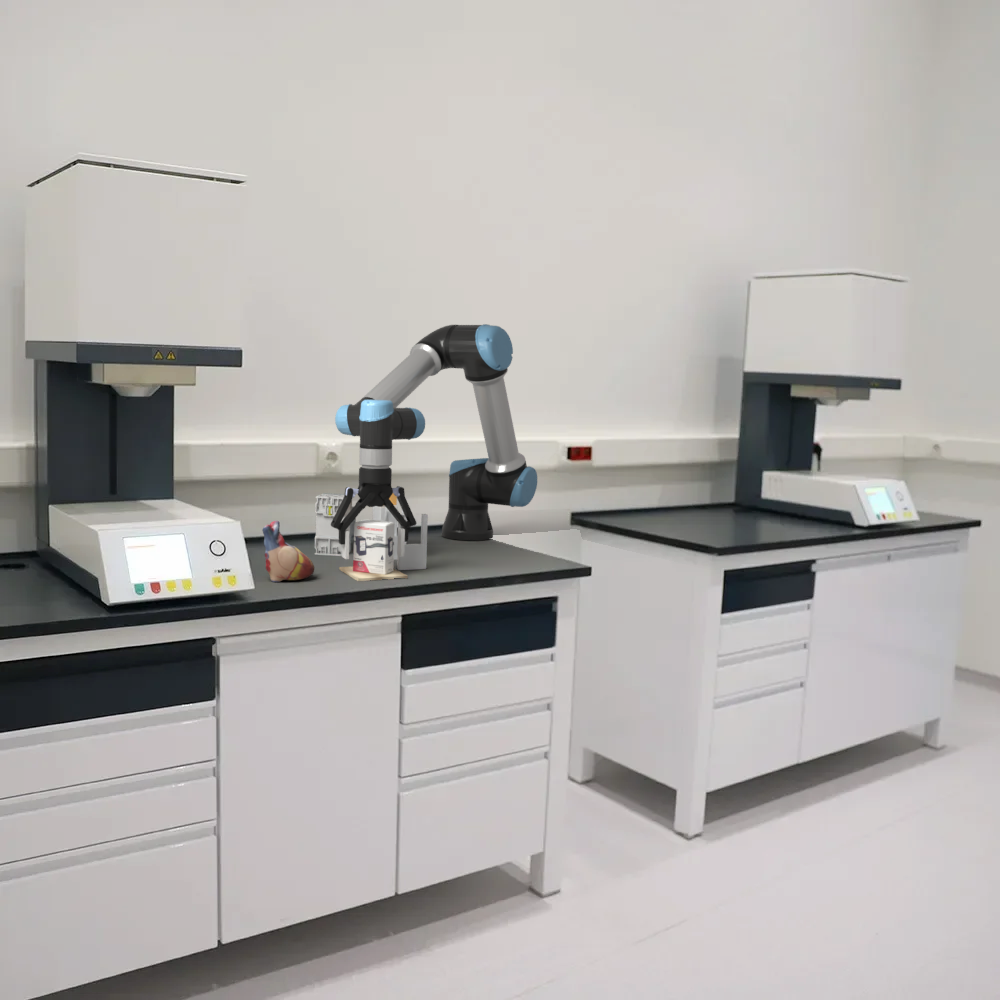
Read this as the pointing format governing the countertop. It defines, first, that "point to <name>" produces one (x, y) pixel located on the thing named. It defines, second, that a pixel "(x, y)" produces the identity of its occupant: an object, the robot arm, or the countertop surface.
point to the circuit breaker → (329, 525)
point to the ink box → (373, 546)
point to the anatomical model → (284, 557)
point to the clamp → (412, 552)
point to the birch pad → (371, 574)
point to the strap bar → (393, 499)
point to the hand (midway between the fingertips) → (373, 556)
